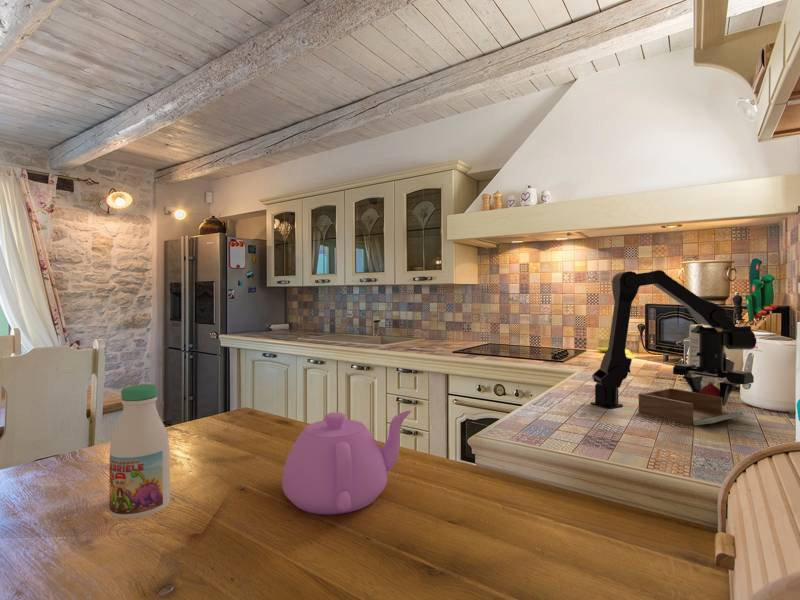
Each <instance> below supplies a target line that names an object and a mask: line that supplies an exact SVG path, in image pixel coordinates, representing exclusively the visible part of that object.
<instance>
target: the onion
mask: <svg viewBox="0 0 800 600" xmlns="http://www.w3.org/2000/svg"><path fill="white" fill-rule="evenodd" d="M699 393H701V394H706V395H712V396H718V397H720V390H719V389H718V388H717V387H716V386H714V385H713V383H712V382H709V384H708V385H707V386H705V387H703V388H702V389H701V390H700V392H699Z"/></svg>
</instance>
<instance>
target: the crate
mask: <svg viewBox="0 0 800 600" xmlns="http://www.w3.org/2000/svg"><path fill="white" fill-rule="evenodd" d="M723 407H724V406H723V397H718V396H712V395H706V394H701V393H695V392H693V391H688V390H682V389H677V388H672V387H668V388H663V389H658V390H657V389H655V390H652V391H651V390H650V391H646V392H641V393H638V413H640V414H644V415H648V416H652V417H655V418H660V419H663V420H668V421H672V422H675V423H678V424H679V423H680V424H683V425H687V426H691V427H693V426H695V425H694V424H693V422H696V421H700V420H704V419H708V418H712V417H715V416H719V415H723V409H724V408H723Z"/></svg>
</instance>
